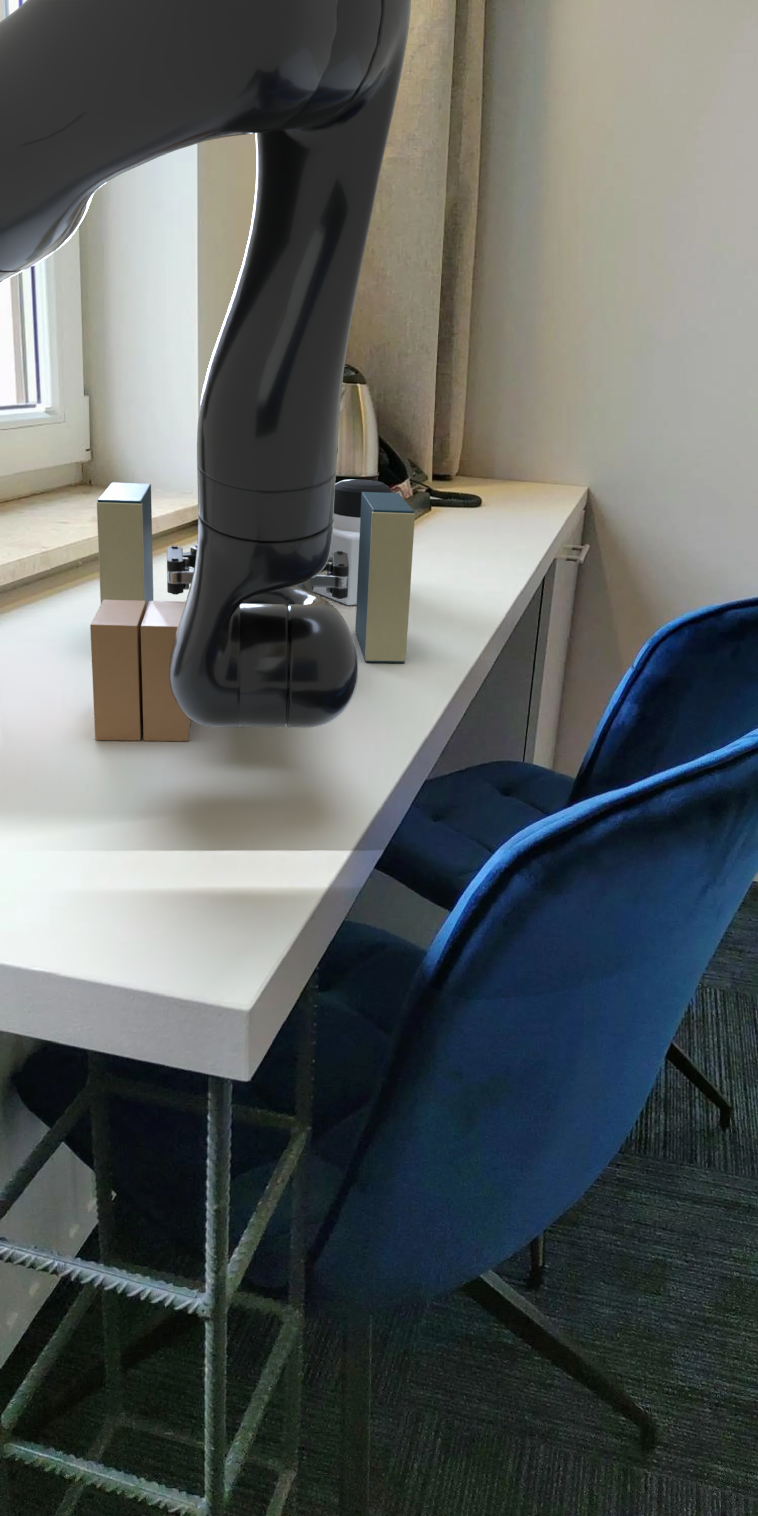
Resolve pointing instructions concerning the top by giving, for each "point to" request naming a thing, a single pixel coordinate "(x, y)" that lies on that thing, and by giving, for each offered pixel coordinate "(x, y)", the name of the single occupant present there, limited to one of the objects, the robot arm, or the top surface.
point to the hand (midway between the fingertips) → (257, 553)
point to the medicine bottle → (349, 528)
